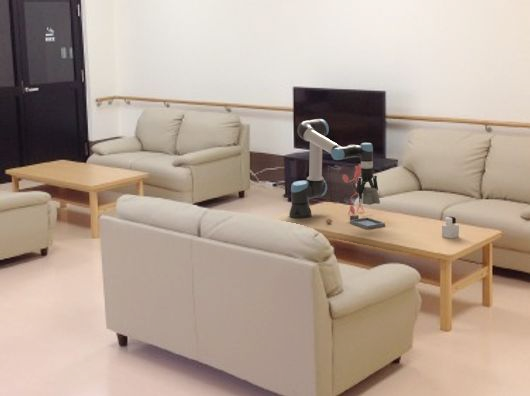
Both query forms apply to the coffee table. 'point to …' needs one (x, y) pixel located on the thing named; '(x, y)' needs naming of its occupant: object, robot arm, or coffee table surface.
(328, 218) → the terracotta ball
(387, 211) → the coffee table surface
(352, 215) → the walnut cube
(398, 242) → the coffee table surface
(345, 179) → the figurine
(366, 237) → the coffee table surface
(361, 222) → the tray
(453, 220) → the medicine bottle
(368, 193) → the digital clock
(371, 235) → the coffee table surface
